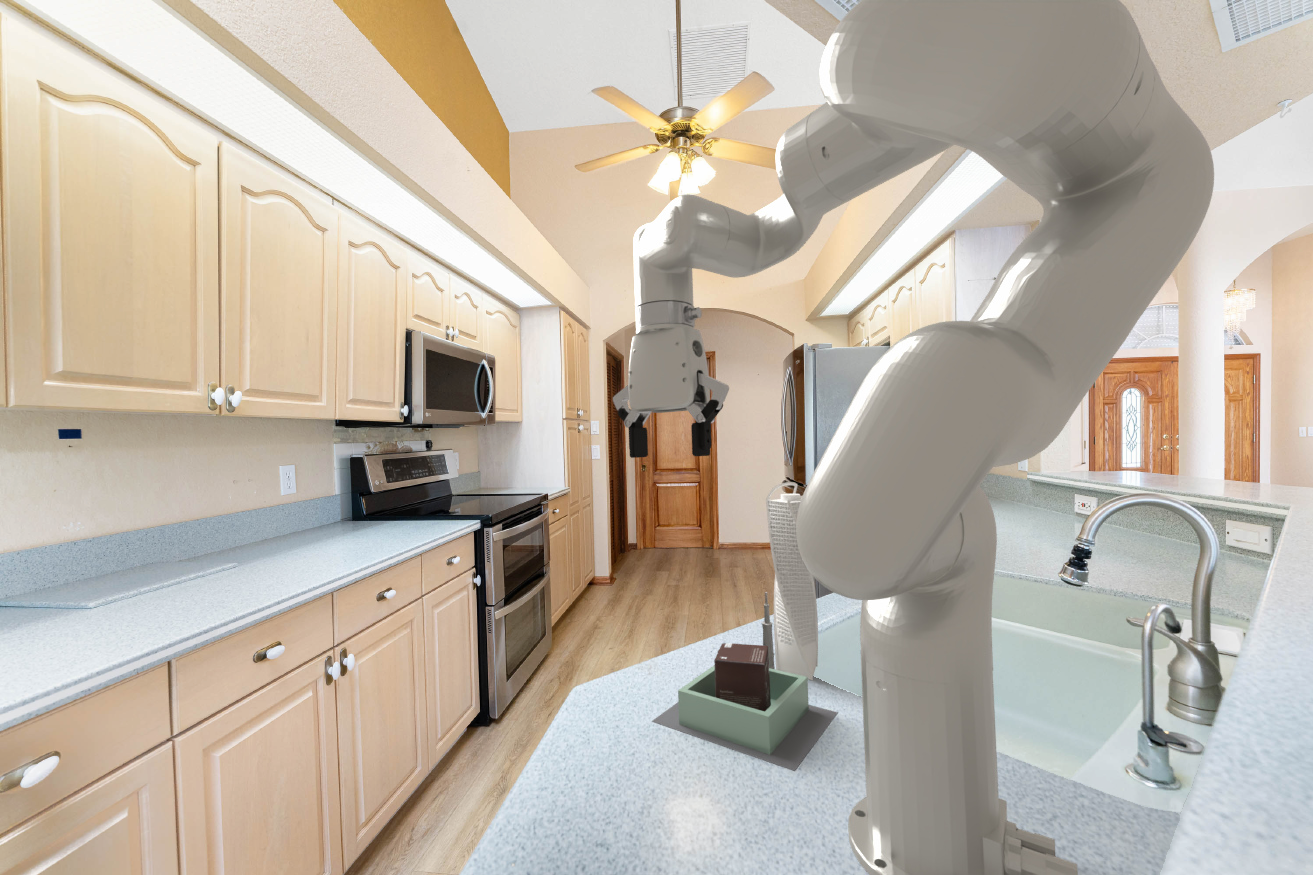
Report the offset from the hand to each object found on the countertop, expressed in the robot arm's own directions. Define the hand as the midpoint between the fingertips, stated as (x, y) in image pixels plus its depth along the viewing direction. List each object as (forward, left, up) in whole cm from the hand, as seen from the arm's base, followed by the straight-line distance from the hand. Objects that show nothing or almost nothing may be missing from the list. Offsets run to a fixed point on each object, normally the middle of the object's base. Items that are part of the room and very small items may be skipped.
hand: (668, 456), depth 67 cm
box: (-8, -3, -32) cm, 33 cm away
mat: (-8, -3, -32) cm, 33 cm away
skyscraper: (-8, -19, -33) cm, 39 cm away
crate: (-8, -3, -32) cm, 33 cm away
